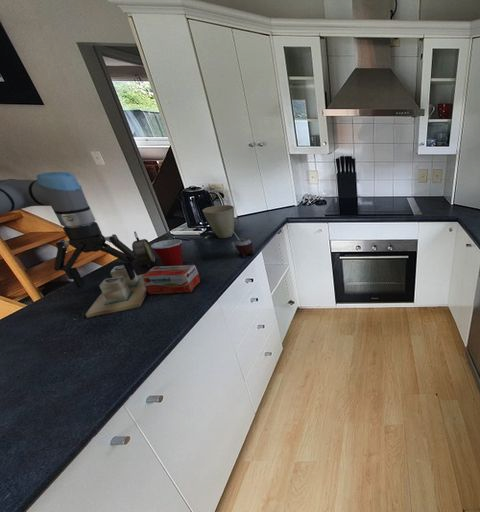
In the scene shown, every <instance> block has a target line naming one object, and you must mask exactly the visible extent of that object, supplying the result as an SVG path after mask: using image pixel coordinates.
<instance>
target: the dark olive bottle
mask: <svg viewBox="0 0 480 512" xmlns="http://www.w3.org/2000/svg"><path fill="white" fill-rule="evenodd" d="M133 233H134V238H135V240H134V241H133V242H132V244H131V250H132V251H133V252H134V253H136V254H137V255H138V257H137V258H136V261H137V263H139V264H140V265H141V266H142V267H143V266H146V265H148V269H149V270H151V269H152V267H151V264H154V263H155V262H156V256H155V251H154V249H153V248H152V247H151V245H152V244H151V243H150V242H149V240H148V239H146V238H143V239H140V238H139V237H138V233H137V232H136V230H135V231H134V232H133Z"/></svg>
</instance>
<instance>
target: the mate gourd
mask: <svg viewBox="0 0 480 512" xmlns="http://www.w3.org/2000/svg"><path fill="white" fill-rule="evenodd" d="M227 230H228V229H227ZM229 231H231V232H233V235H234V236H235V237H236V239H237V240H236V242H235V248H236V251H238V252H239V256H242V258H243V259H245V258H246V257H248V256H251V257H252V256H254V254H253V247H254V245H253V242H252V240H251V239H250V238H248V237H242V238H241V237H240V238H239V237H238V235H237V234H236V232H235V231H232V230H229Z"/></svg>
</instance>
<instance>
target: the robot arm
mask: <svg viewBox="0 0 480 512" xmlns="http://www.w3.org/2000/svg"><path fill="white" fill-rule="evenodd" d="M35 177H36V179H17V178H8V179H0V216H1V215H3V214H9V213H12V212H15V211H19V210H22V209H26V208H31V207H51V209H52V210H53V213H54V214H55V216H56V218H57V220H58V222H59V224H60V226H61V227H63V228H62V229H63V232H64V234H65V236H66V237H67V239H68V240H65V239H60V240H58V241H57V242H55V246H56V249H57V250H56V256H55V260H54V267H53V270H54V271H55V272H56V271H57V272H58V271H63V272H64V273H65V275H66V276H67V278H68V279H69V280H73V282H74V284H75V285H76V287H77V289H82V288H83V287H84V285H85V282H84V280H83V278H82V276H81V275H80V273H79V270H78V268H77V267H76V266H74V265H75V263H76V262H77V260H78V258H79V257H80V255H81V254H82V253H85V254H88V253H92V252H93V253H94V252H95V253H96V252H99V251H101V252H102V253H106V254H109V255H111V256H113V257H114V258H117V259H118V260H121V261H122V262H123V265H124V266H125V269H126V271H127V273H128V275H129V278H130V280H133V279H134V278H135V274H134V272H133V270H134V271H135V268H136V266H135V263H134V261H137V259H136V258H137V257H138V255H137V254H136V253H134V252H133V249H132V248H130V247H128V246H127V245H126V244H125V243H123V242H122V241H121V240H120V239H119V238H118V236H117V235H116V234H114V233H113V234H111V235H108V236H104V235H103V233H102V231H101V228H100V226H99V224H98V222H96V216H95V215H94V213H93V211H92V209H91V207H90V205H89V203H88V200H87V198H86V196H85V194H84V191H83V188H82V185H81V184H80V182H79V181H78V179H77V178H76V175H75V174H73V173H72V172H70V171H49V172H42V173H38V174H37V175H36V176H35ZM106 242H108V243H110V244H112V245H113V246H114V247H115V248H114V247H112V246H111V245H110V244H108V243H106ZM69 246H70V247H73V248H74V251H73V253H72V254H71V256H70V257H69V259H68V260H67V262H66V263H65V259H66V255H67V249H68V248H69ZM73 266H74V267H73Z"/></svg>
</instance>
